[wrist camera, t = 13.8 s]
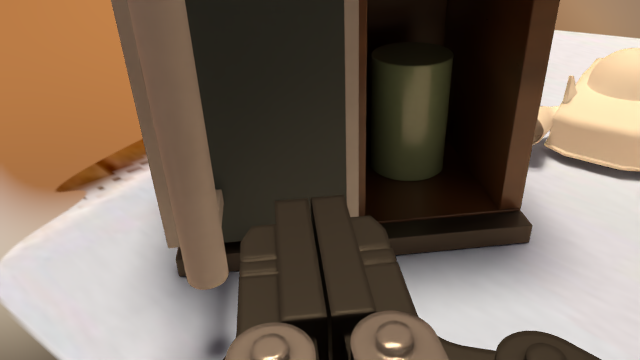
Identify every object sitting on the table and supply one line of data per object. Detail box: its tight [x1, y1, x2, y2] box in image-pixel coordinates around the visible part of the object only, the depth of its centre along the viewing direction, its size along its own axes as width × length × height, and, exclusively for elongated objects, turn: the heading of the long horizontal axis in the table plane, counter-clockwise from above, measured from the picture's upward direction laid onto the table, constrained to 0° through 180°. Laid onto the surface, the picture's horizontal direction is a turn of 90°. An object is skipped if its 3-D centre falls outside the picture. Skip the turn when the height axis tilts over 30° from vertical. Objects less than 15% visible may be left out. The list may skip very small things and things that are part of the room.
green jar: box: [369, 42, 454, 181], centre depth 31 cm, size 5×5×7 cm
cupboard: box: [176, 0, 560, 276], centre depth 28 cm, size 13×18×16 cm
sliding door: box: [111, 0, 359, 290], centre depth 20 cm, size 6×9×13 cm, turn 96°
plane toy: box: [533, 48, 640, 171], centre depth 37 cm, size 10×20×6 cm, turn 141°
